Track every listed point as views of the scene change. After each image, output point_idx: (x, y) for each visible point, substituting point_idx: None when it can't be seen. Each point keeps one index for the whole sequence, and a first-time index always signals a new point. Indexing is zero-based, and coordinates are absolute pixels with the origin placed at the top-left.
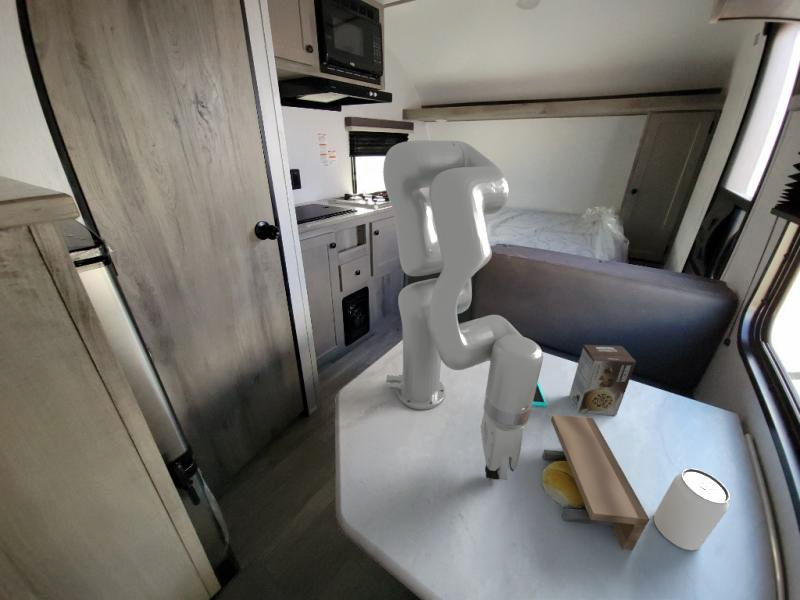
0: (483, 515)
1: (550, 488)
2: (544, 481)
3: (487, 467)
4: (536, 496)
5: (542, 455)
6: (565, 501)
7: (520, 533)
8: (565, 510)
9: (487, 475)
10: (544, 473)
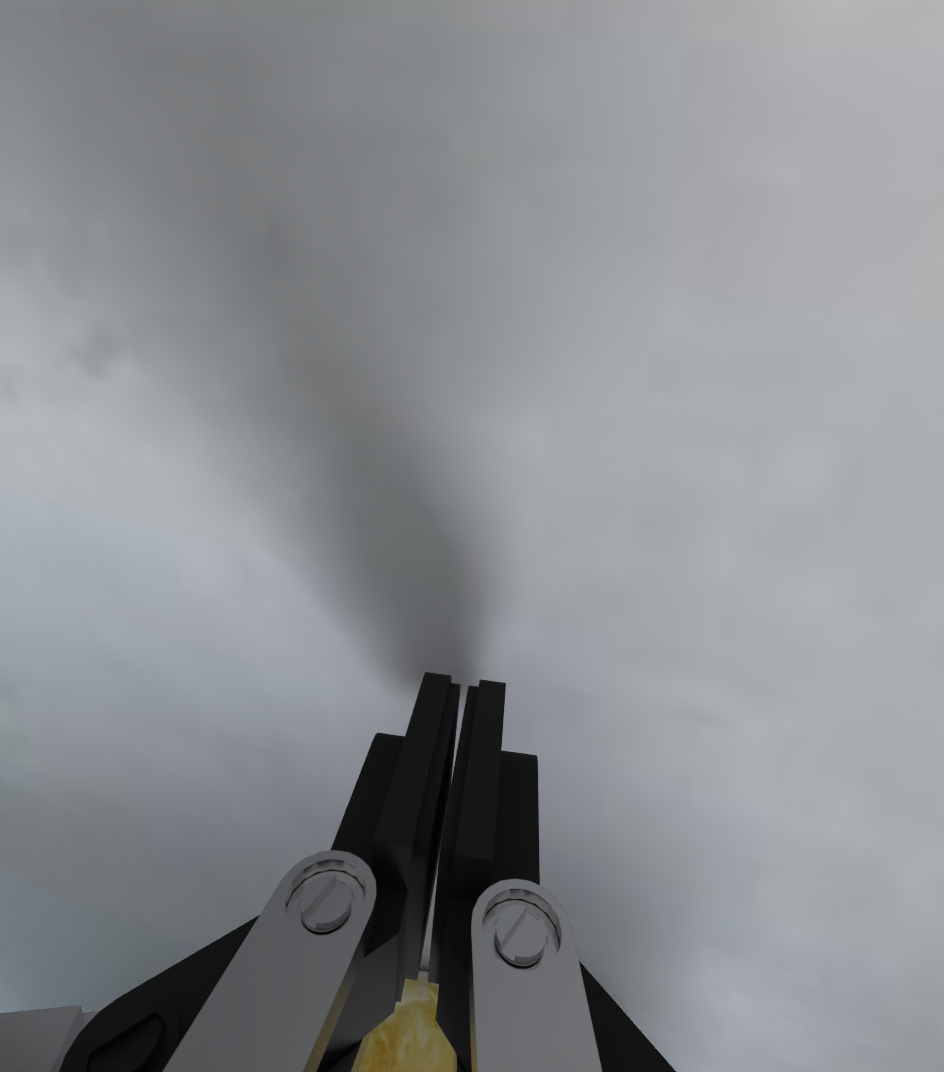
0: (145, 548)
1: None
2: (396, 1030)
3: (401, 778)
4: None
5: None
6: None
7: (84, 747)
8: None
9: (419, 699)
10: (452, 1061)
